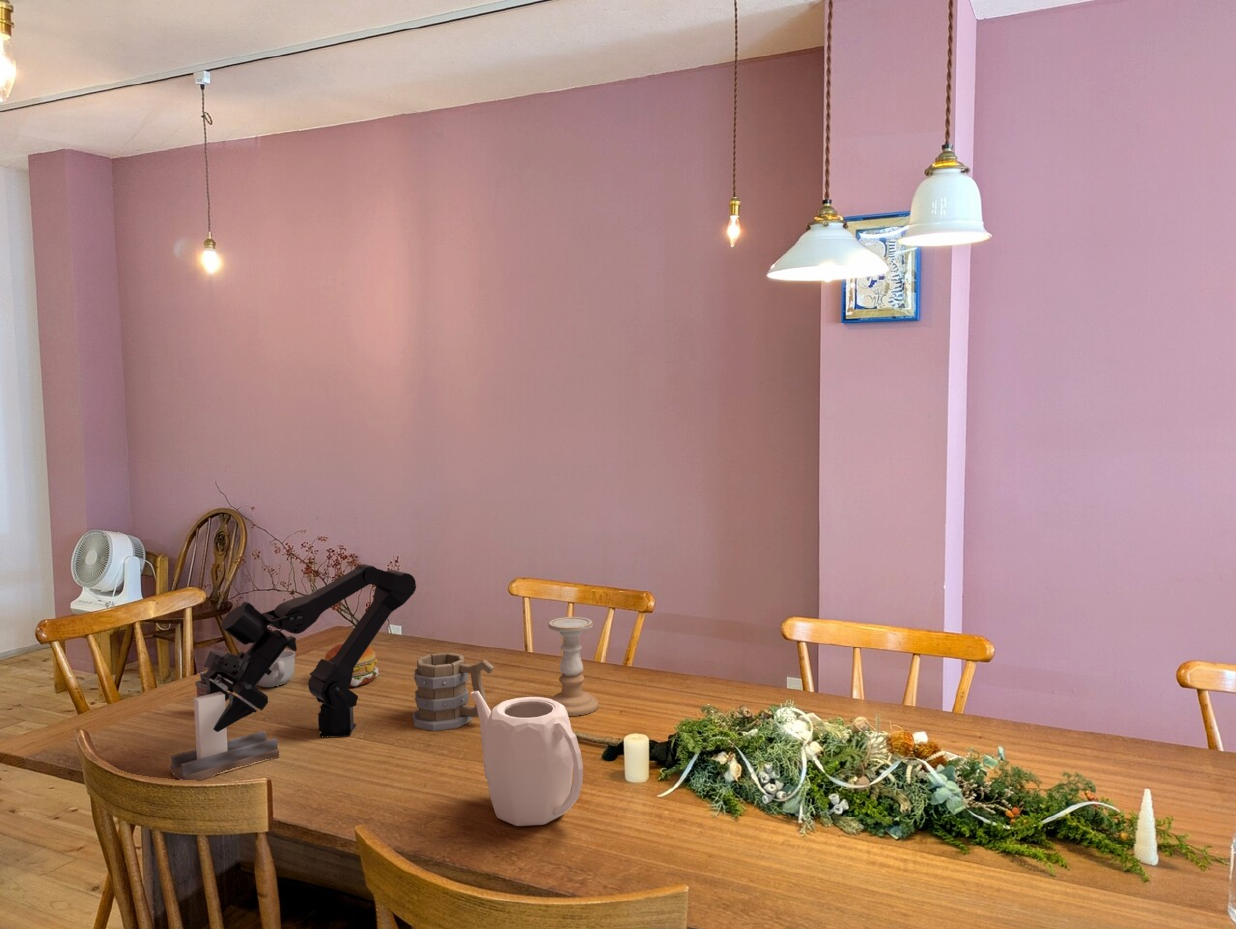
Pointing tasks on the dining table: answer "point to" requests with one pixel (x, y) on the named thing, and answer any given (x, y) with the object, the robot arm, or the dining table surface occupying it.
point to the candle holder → (572, 666)
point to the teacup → (280, 670)
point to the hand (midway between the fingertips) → (206, 724)
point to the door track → (225, 757)
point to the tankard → (446, 691)
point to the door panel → (209, 725)
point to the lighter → (201, 685)
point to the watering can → (529, 759)
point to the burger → (360, 666)
